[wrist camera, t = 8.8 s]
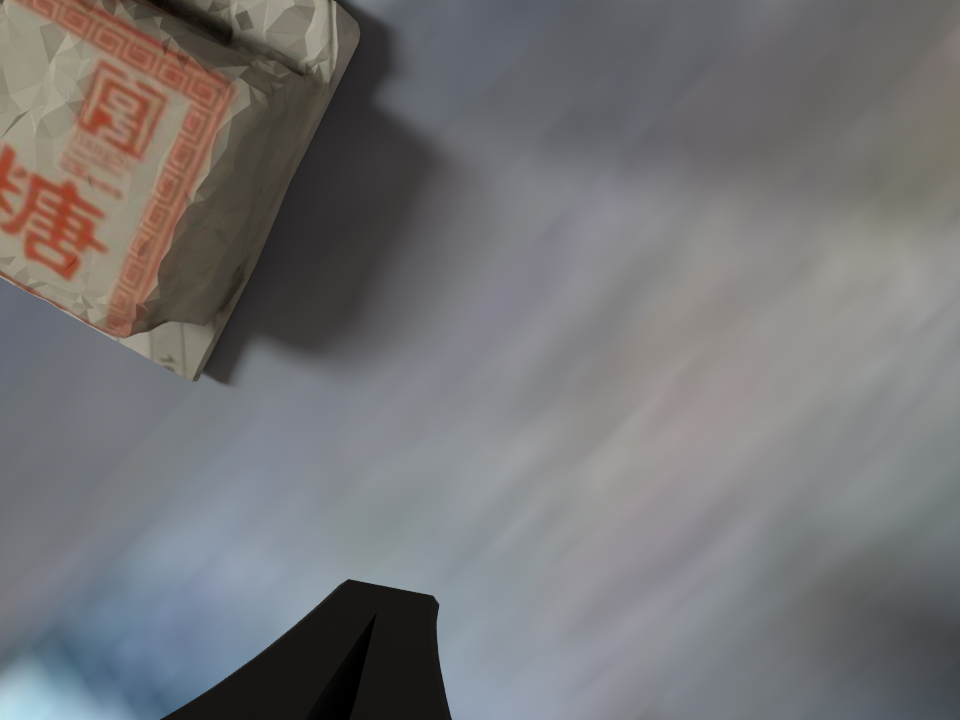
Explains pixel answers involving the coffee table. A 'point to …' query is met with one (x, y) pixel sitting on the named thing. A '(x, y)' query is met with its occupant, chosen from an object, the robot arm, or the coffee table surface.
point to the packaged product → (155, 154)
